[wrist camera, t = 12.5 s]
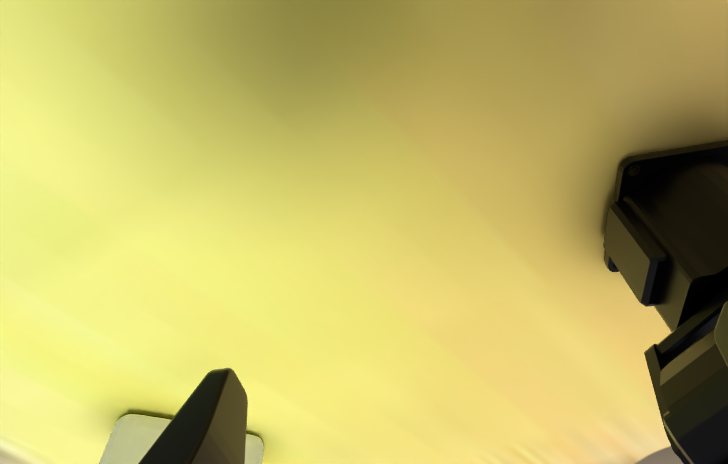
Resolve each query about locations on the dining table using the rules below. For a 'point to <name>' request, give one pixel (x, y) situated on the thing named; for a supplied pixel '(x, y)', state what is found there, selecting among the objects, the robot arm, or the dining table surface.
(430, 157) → the dining table surface
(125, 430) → the photo printer
